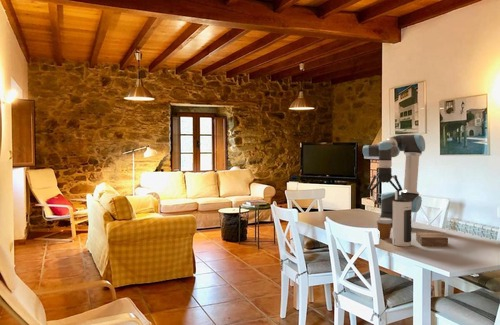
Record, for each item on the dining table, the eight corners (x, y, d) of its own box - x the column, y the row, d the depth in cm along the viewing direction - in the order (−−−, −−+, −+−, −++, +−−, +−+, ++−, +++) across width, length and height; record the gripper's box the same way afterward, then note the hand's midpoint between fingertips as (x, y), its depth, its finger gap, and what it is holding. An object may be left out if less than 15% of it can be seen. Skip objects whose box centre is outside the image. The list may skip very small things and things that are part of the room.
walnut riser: (416, 240, 247) (416, 232, 247) (440, 240, 245) (440, 232, 244) (421, 246, 233) (421, 237, 233) (448, 246, 231) (448, 238, 231)
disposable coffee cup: (393, 240, 247) (393, 220, 247) (377, 239, 249) (377, 220, 249) (391, 236, 257) (391, 217, 256) (375, 236, 259) (375, 217, 258)
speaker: (399, 247, 230) (399, 201, 229) (388, 243, 240) (388, 198, 239) (415, 246, 233) (415, 200, 232) (403, 241, 243) (404, 198, 242)
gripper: (364, 167, 249) (364, 202, 250) (407, 167, 245) (407, 203, 246) (363, 166, 257) (363, 200, 257) (405, 167, 252) (404, 201, 253)
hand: (384, 201), depth 252 cm, fingers open, 13 cm apart
